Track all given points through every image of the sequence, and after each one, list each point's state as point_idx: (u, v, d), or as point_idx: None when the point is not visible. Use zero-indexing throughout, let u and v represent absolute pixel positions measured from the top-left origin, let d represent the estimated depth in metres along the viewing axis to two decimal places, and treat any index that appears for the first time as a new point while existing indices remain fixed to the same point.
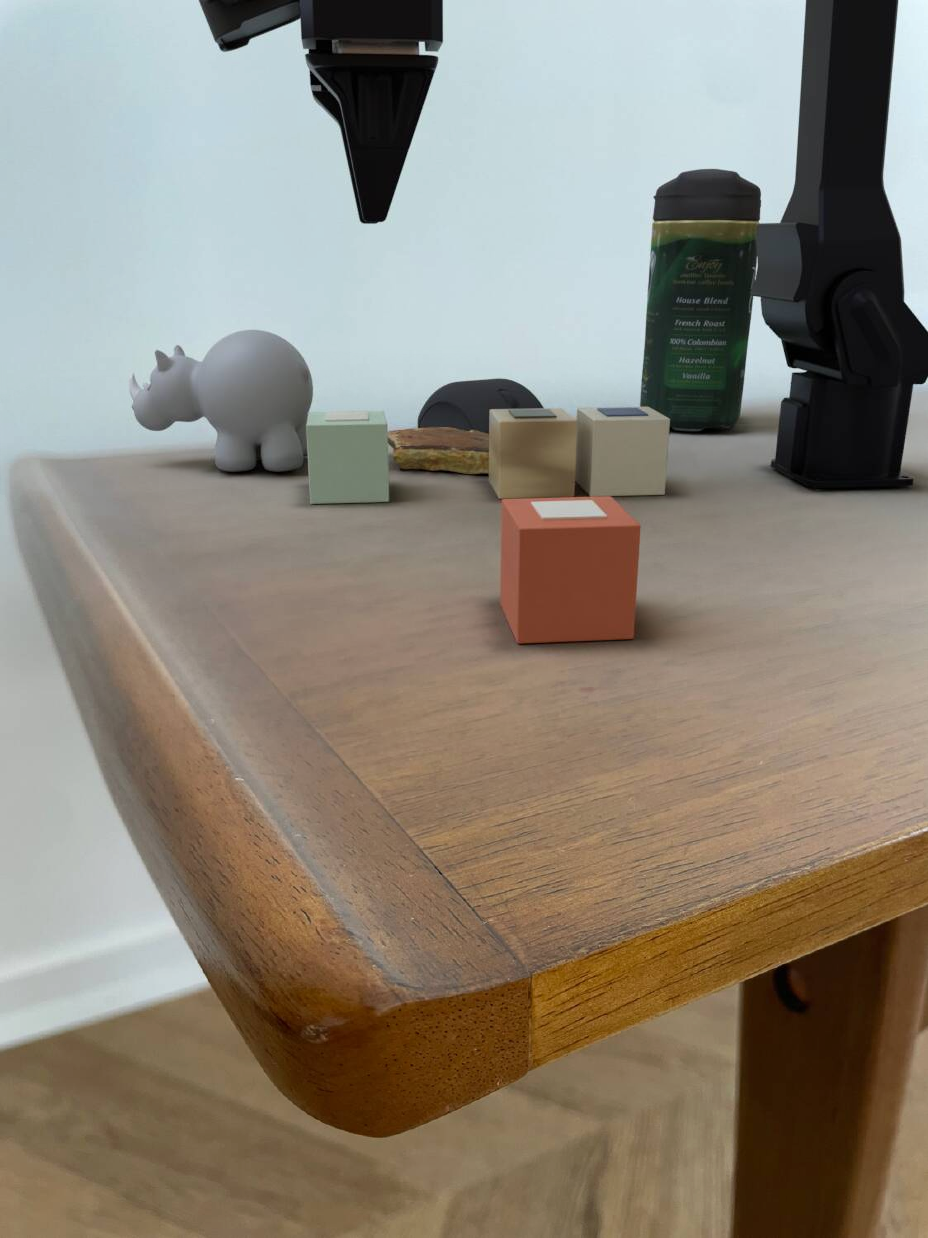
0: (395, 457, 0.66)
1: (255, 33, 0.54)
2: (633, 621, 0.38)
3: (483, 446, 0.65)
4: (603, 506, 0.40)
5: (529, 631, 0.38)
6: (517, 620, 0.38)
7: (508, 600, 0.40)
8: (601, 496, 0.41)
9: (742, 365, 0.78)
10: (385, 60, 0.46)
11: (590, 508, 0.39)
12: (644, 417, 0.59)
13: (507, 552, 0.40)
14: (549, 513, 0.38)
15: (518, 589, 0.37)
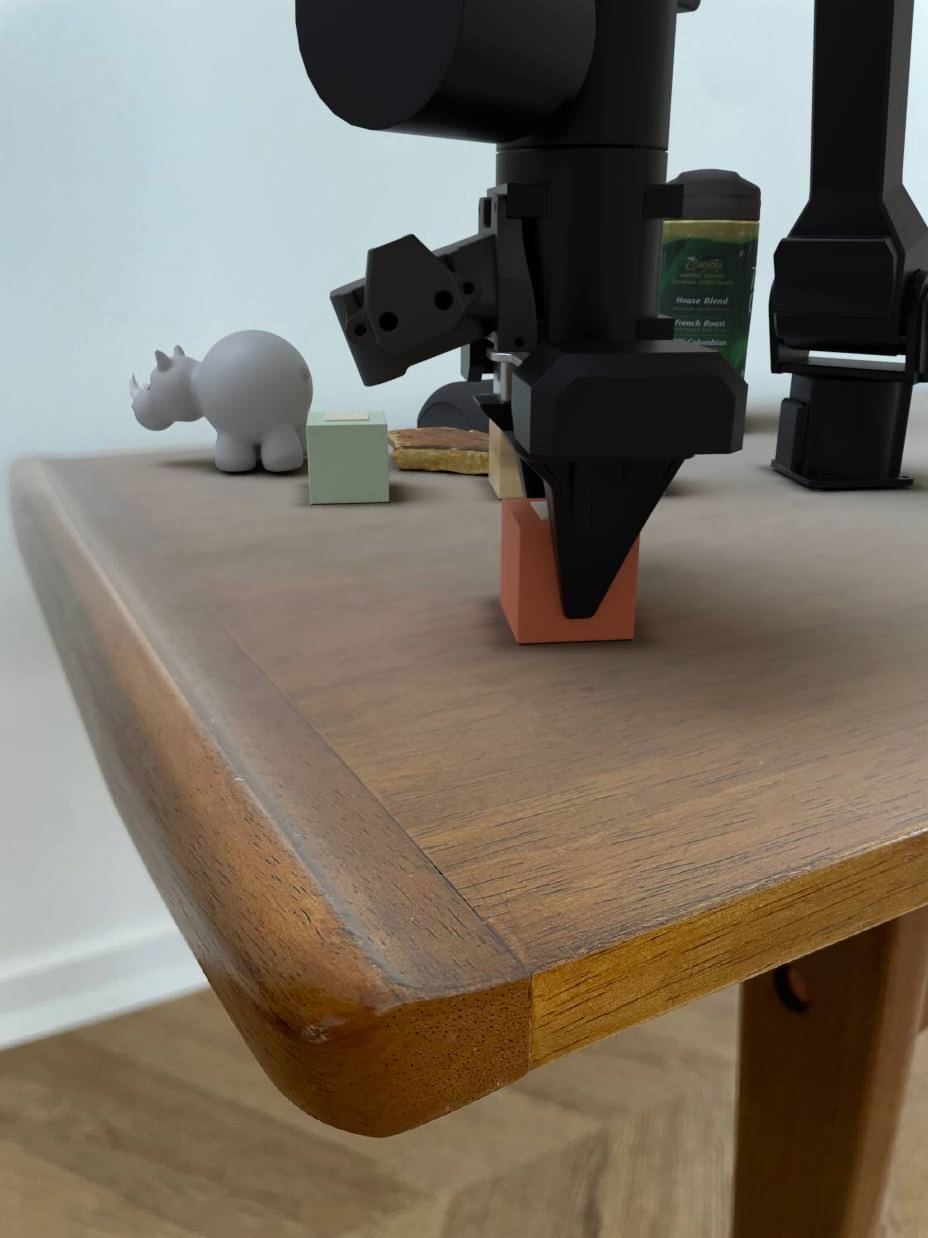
0: (395, 457, 0.66)
1: None
2: (633, 621, 0.38)
3: (483, 446, 0.65)
4: None
5: (529, 631, 0.38)
6: (517, 620, 0.38)
7: (508, 600, 0.40)
8: None
9: (742, 365, 0.78)
10: None
11: None
12: None
13: (507, 552, 0.40)
14: None
15: (518, 589, 0.37)
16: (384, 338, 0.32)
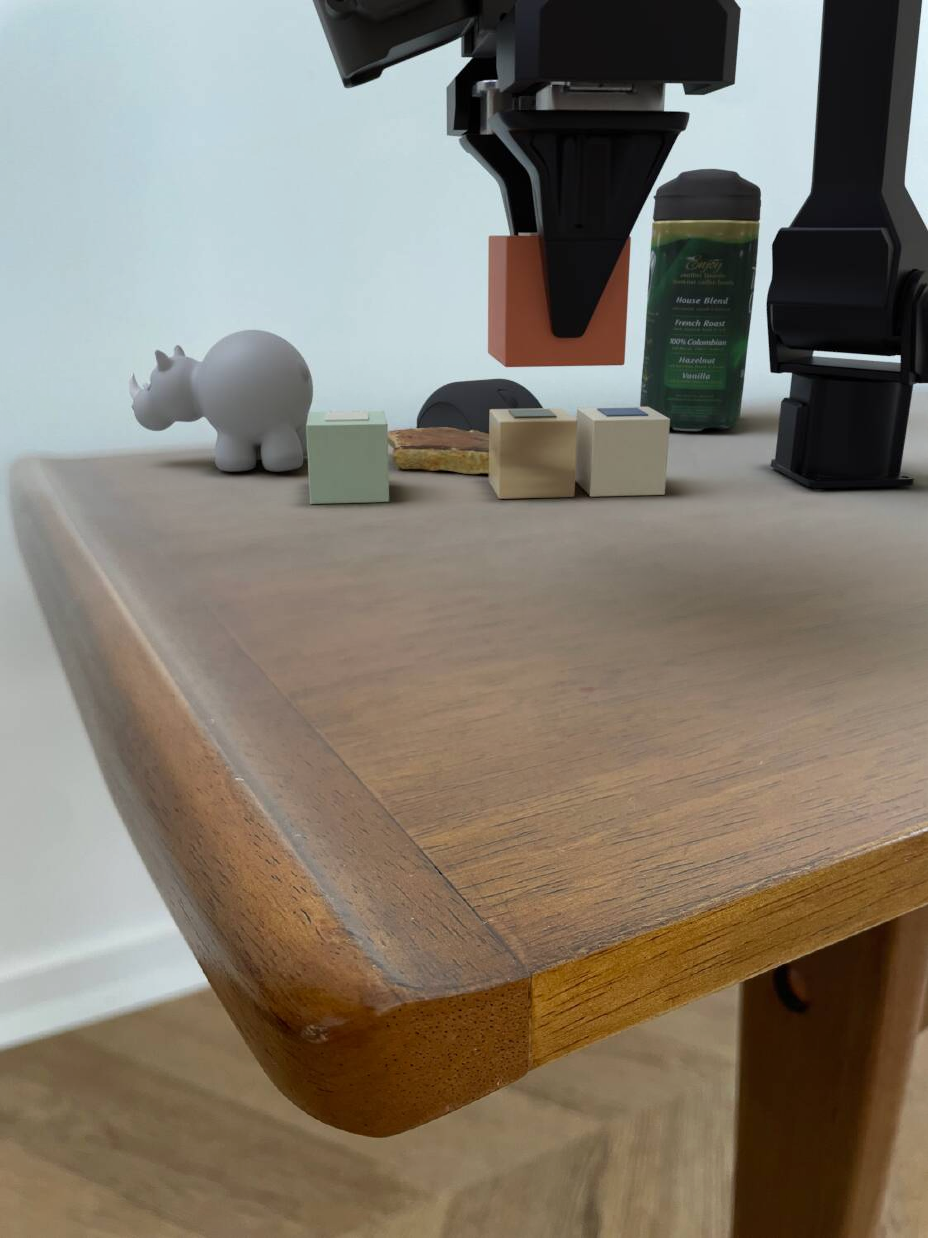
0: (395, 457, 0.66)
1: (392, 61, 0.37)
2: (624, 344, 0.37)
3: (483, 446, 0.65)
4: None
5: (517, 353, 0.37)
6: (505, 341, 0.37)
7: (496, 334, 0.39)
8: None
9: (742, 365, 0.78)
10: (617, 120, 0.31)
11: None
12: (644, 417, 0.59)
13: (494, 283, 0.39)
14: None
15: (505, 306, 0.36)
16: None
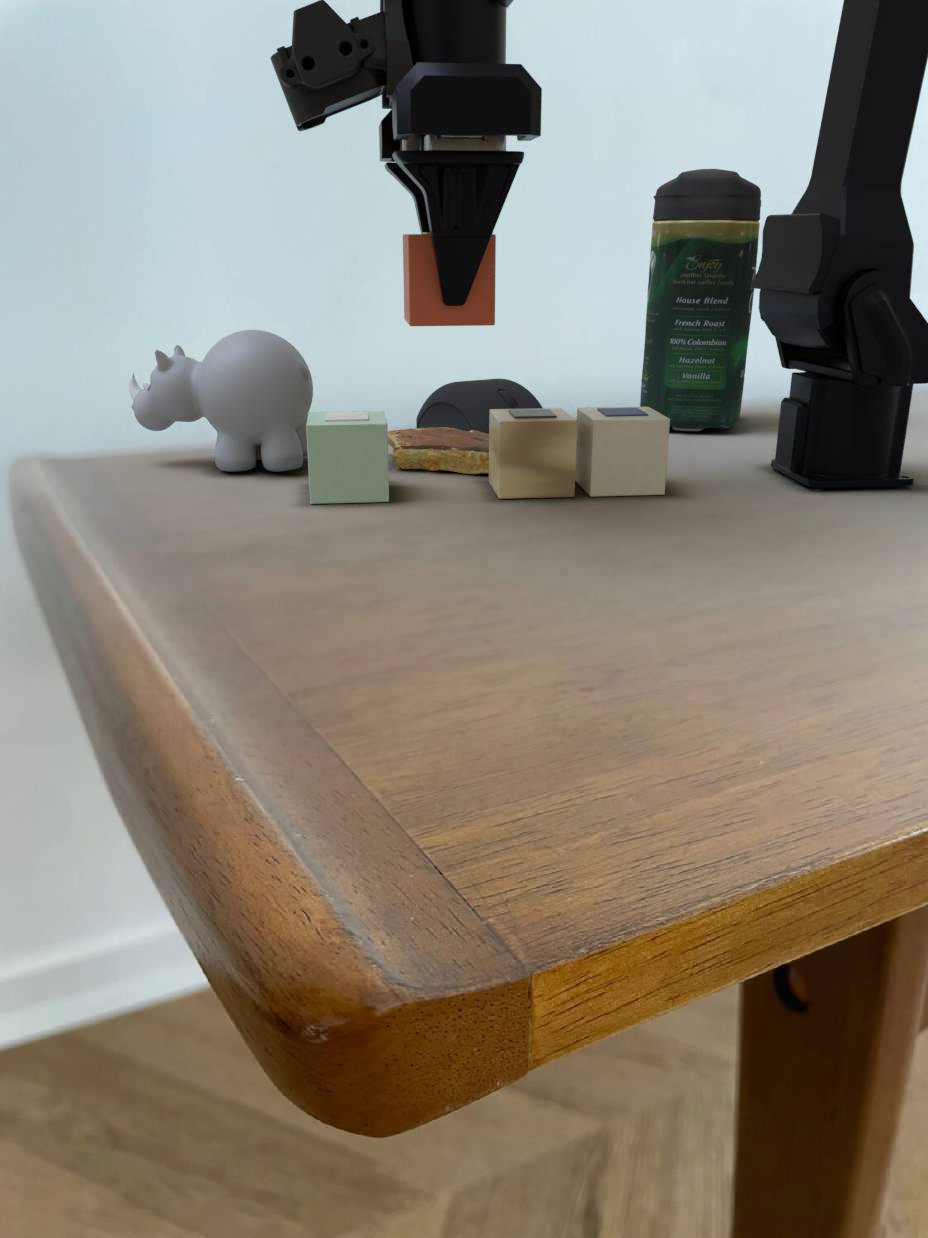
0: (395, 457, 0.66)
1: (332, 112, 0.53)
2: (494, 310, 0.53)
3: (483, 446, 0.65)
4: None
5: (418, 316, 0.53)
6: (409, 307, 0.53)
7: (406, 304, 0.55)
8: None
9: (742, 365, 0.78)
10: (473, 157, 0.47)
11: None
12: (644, 417, 0.59)
13: (405, 268, 0.54)
14: None
15: (409, 282, 0.52)
16: (305, 75, 0.47)
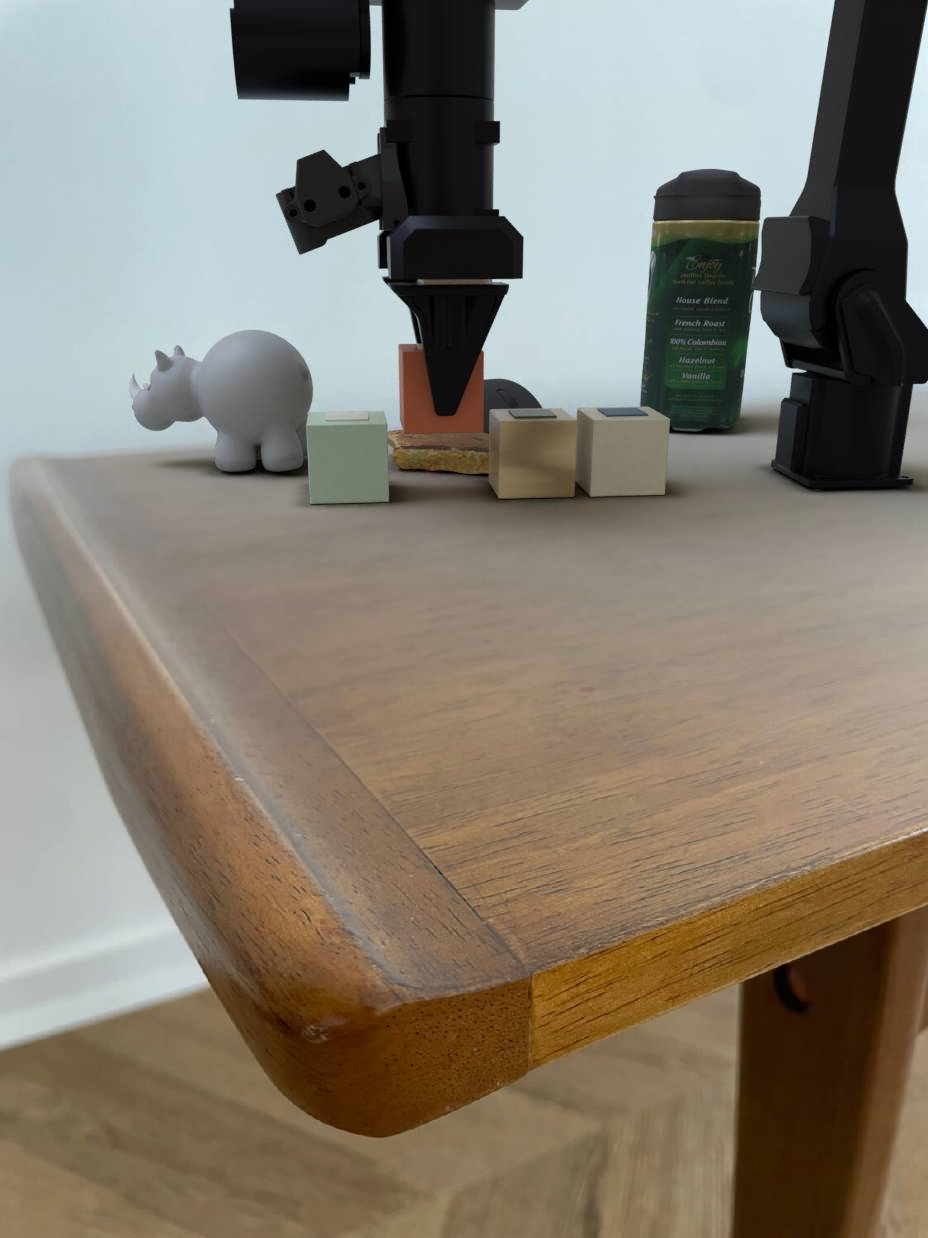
0: (395, 457, 0.66)
1: None
2: (482, 419, 0.57)
3: (483, 446, 0.65)
4: None
5: (412, 425, 0.57)
6: (403, 417, 0.57)
7: (401, 410, 0.59)
8: None
9: (742, 365, 0.78)
10: (462, 290, 0.51)
11: None
12: (644, 417, 0.59)
13: (400, 377, 0.58)
14: None
15: (403, 395, 0.56)
16: (307, 216, 0.51)
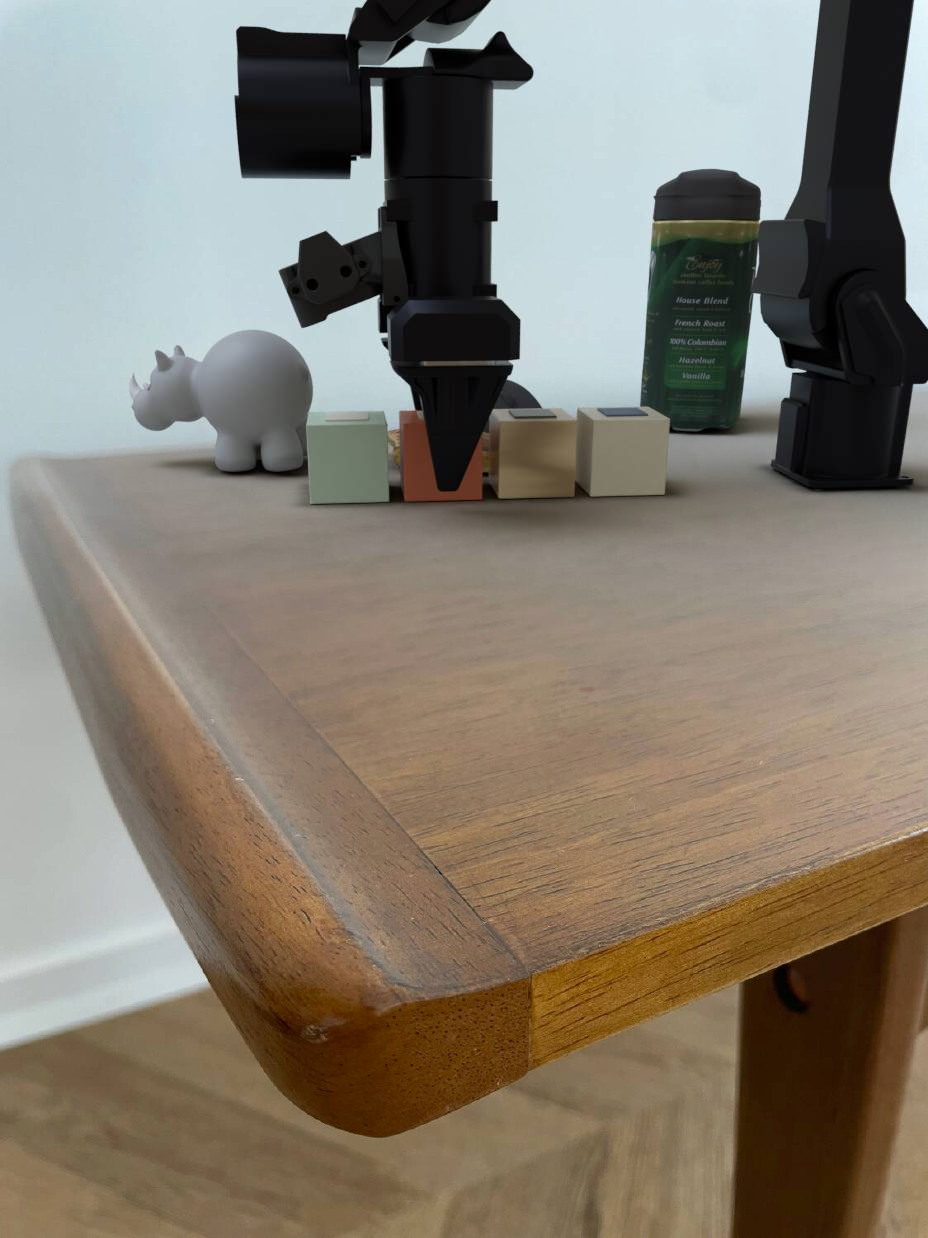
0: (395, 456, 0.66)
1: None
2: (481, 487, 0.58)
3: (483, 445, 0.65)
4: None
5: (412, 493, 0.58)
6: (404, 485, 0.58)
7: (402, 476, 0.60)
8: None
9: (742, 365, 0.78)
10: (465, 371, 0.50)
11: None
12: (644, 417, 0.59)
13: (401, 444, 0.60)
14: None
15: (404, 464, 0.58)
16: (309, 295, 0.52)
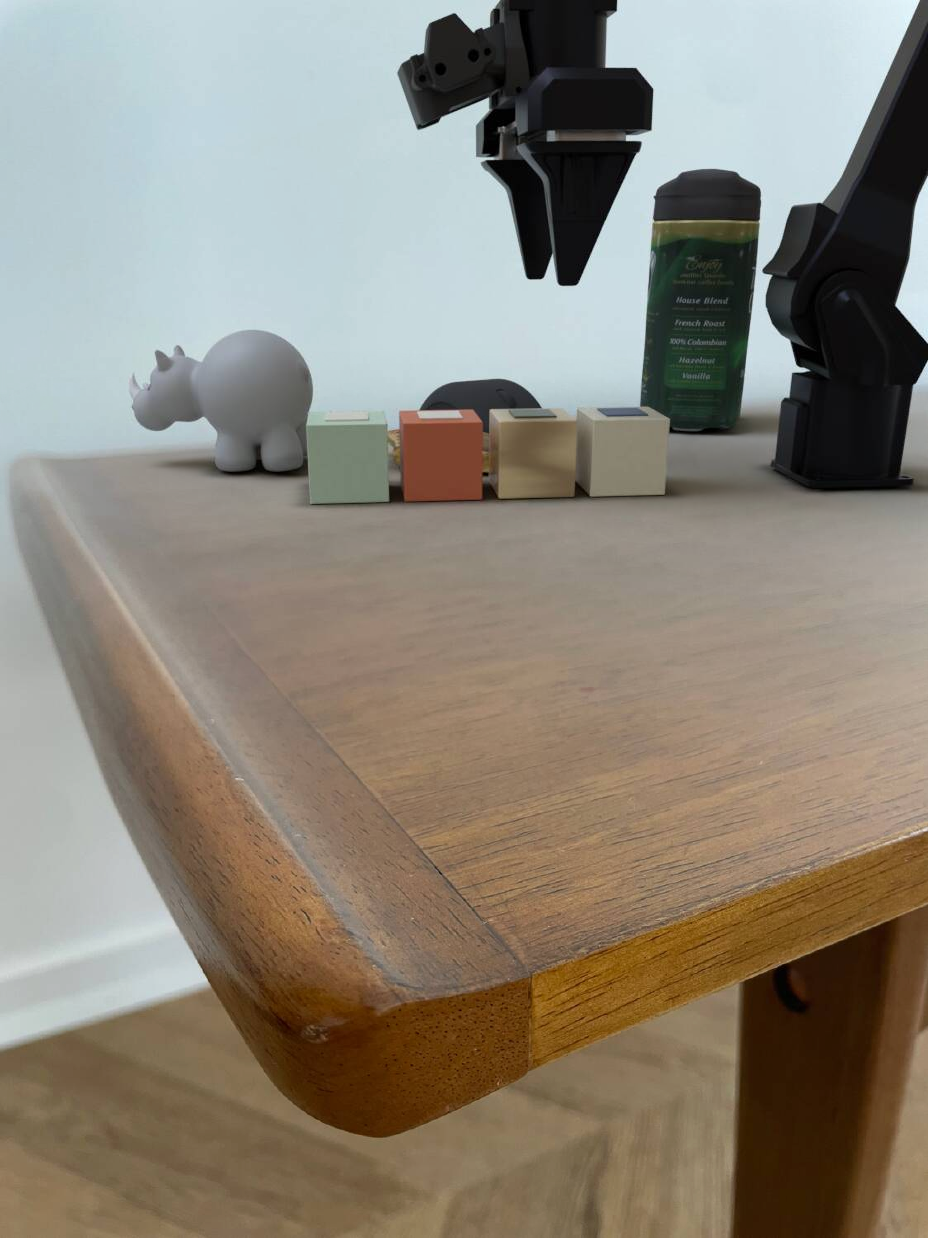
0: (395, 456, 0.66)
1: None
2: (481, 487, 0.58)
3: (483, 445, 0.65)
4: (464, 413, 0.60)
5: (412, 493, 0.58)
6: (404, 485, 0.58)
7: (402, 476, 0.60)
8: None
9: (742, 365, 0.78)
10: (597, 146, 0.51)
11: (454, 414, 0.59)
12: (644, 417, 0.59)
13: (401, 444, 0.60)
14: (425, 416, 0.58)
15: (404, 464, 0.58)
16: (438, 79, 0.53)
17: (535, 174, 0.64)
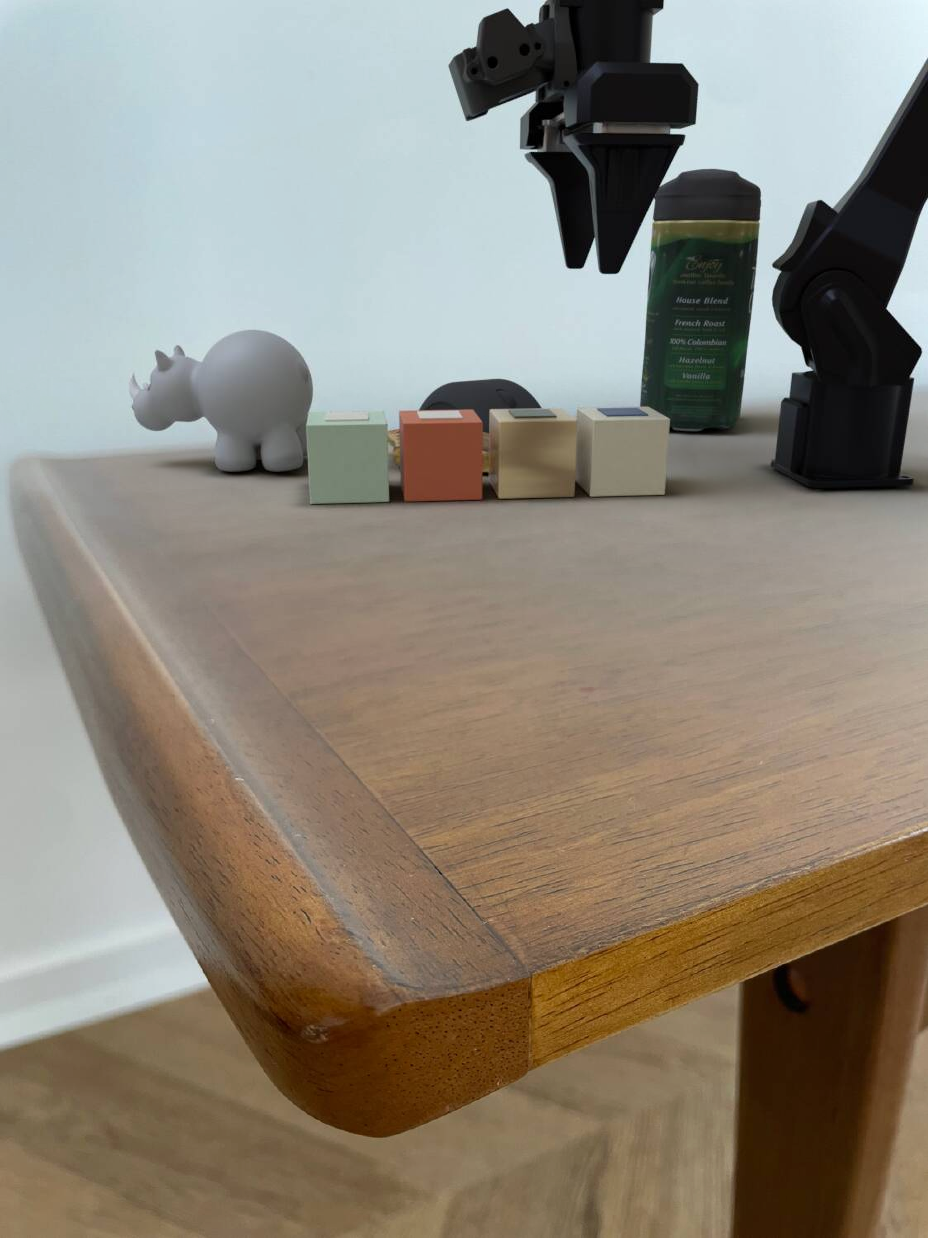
0: (395, 456, 0.66)
1: None
2: (481, 487, 0.58)
3: (483, 445, 0.65)
4: (464, 413, 0.60)
5: (412, 493, 0.58)
6: (404, 485, 0.58)
7: (402, 476, 0.60)
8: None
9: (742, 365, 0.78)
10: (642, 139, 0.53)
11: (454, 414, 0.59)
12: (644, 417, 0.59)
13: (401, 444, 0.60)
14: (425, 416, 0.58)
15: (404, 464, 0.58)
16: (489, 72, 0.55)
17: (577, 166, 0.66)
